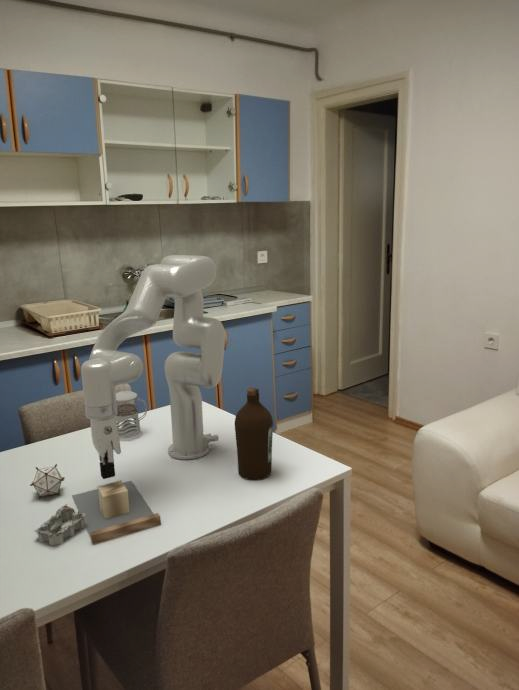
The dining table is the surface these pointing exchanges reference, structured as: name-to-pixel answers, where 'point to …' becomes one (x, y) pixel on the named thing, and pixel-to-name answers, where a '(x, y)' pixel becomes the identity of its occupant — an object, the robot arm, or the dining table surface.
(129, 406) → the french press
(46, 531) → the carved stone fragment
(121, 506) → the block
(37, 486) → the game die
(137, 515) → the grey rectangular board
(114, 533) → the rail
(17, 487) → the dining table surface
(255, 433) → the olive oil
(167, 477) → the dining table surface
